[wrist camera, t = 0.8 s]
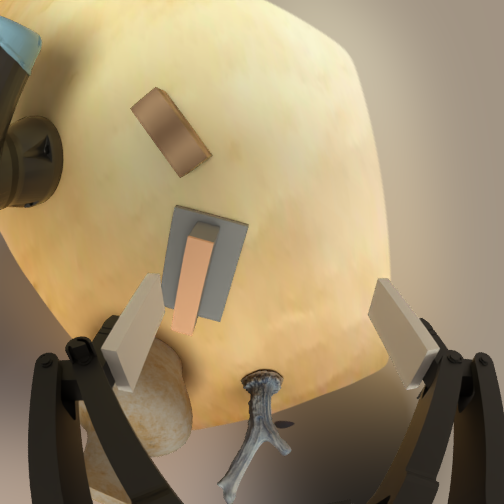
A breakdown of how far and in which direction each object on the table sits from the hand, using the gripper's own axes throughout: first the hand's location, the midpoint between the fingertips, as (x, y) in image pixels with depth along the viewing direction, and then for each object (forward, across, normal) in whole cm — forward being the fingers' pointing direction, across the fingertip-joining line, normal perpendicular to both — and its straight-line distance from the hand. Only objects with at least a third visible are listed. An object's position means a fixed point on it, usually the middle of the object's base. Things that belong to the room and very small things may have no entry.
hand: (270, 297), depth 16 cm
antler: (+22, +1, -35) cm, 41 cm away
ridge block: (+22, -8, -9) cm, 25 cm away
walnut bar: (+22, -11, +10) cm, 27 cm away
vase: (+22, -20, -30) cm, 43 cm away
